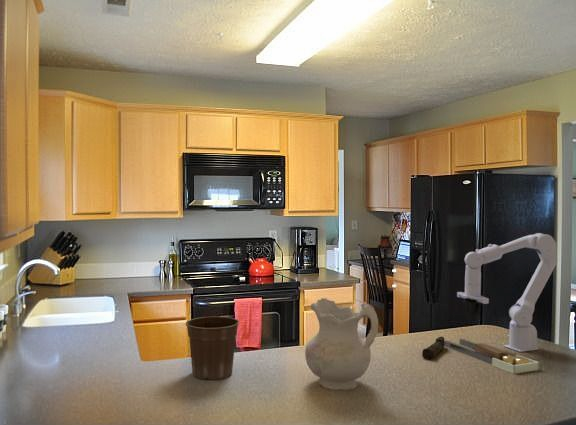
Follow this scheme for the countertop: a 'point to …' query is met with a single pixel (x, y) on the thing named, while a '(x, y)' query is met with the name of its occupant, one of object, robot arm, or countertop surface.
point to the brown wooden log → (433, 349)
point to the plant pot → (212, 346)
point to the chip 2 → (520, 360)
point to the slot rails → (467, 350)
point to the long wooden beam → (490, 350)
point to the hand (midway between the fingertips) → (471, 319)
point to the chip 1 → (508, 359)
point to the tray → (515, 369)
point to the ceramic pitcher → (340, 345)
